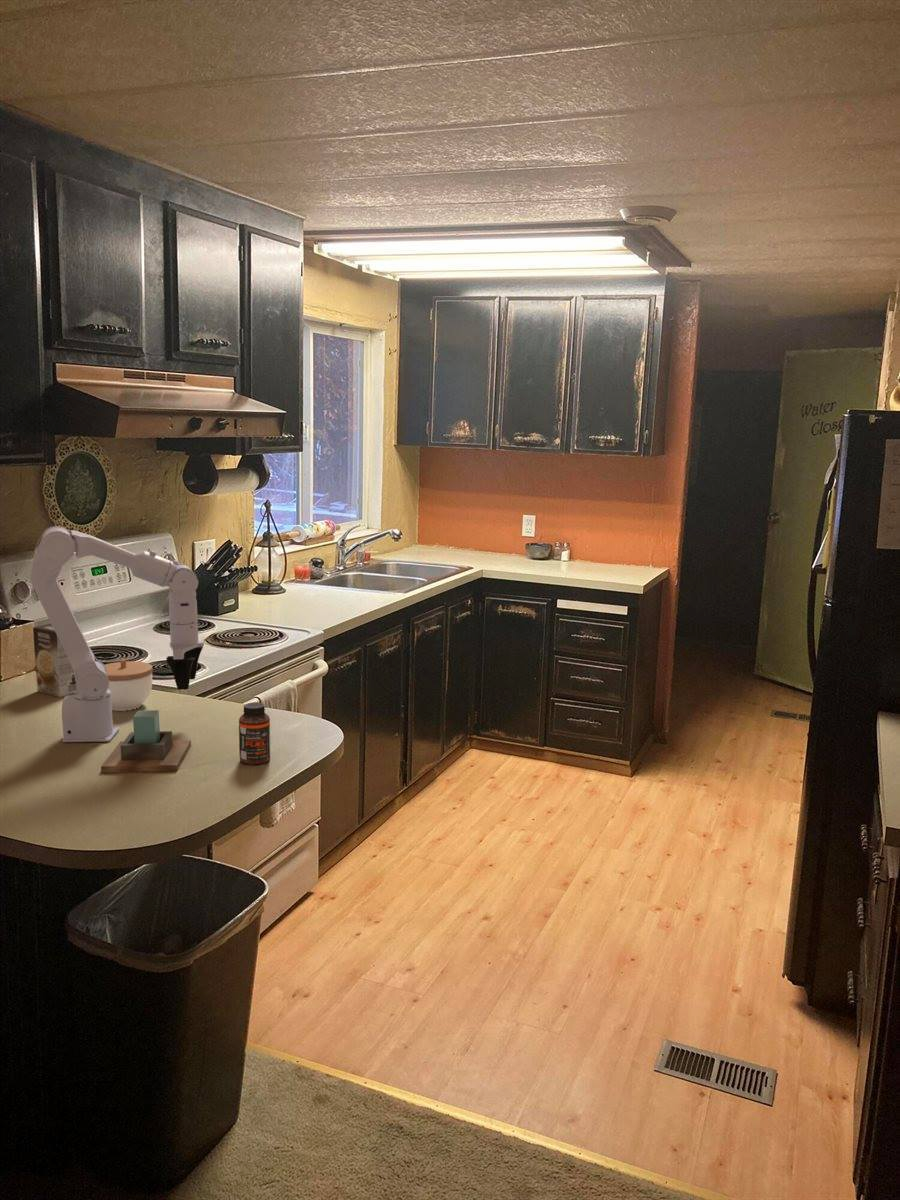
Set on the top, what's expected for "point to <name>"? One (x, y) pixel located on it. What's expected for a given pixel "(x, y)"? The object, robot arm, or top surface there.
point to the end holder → (147, 755)
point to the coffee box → (52, 663)
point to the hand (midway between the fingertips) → (186, 683)
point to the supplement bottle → (254, 734)
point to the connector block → (146, 727)
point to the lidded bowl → (129, 684)
